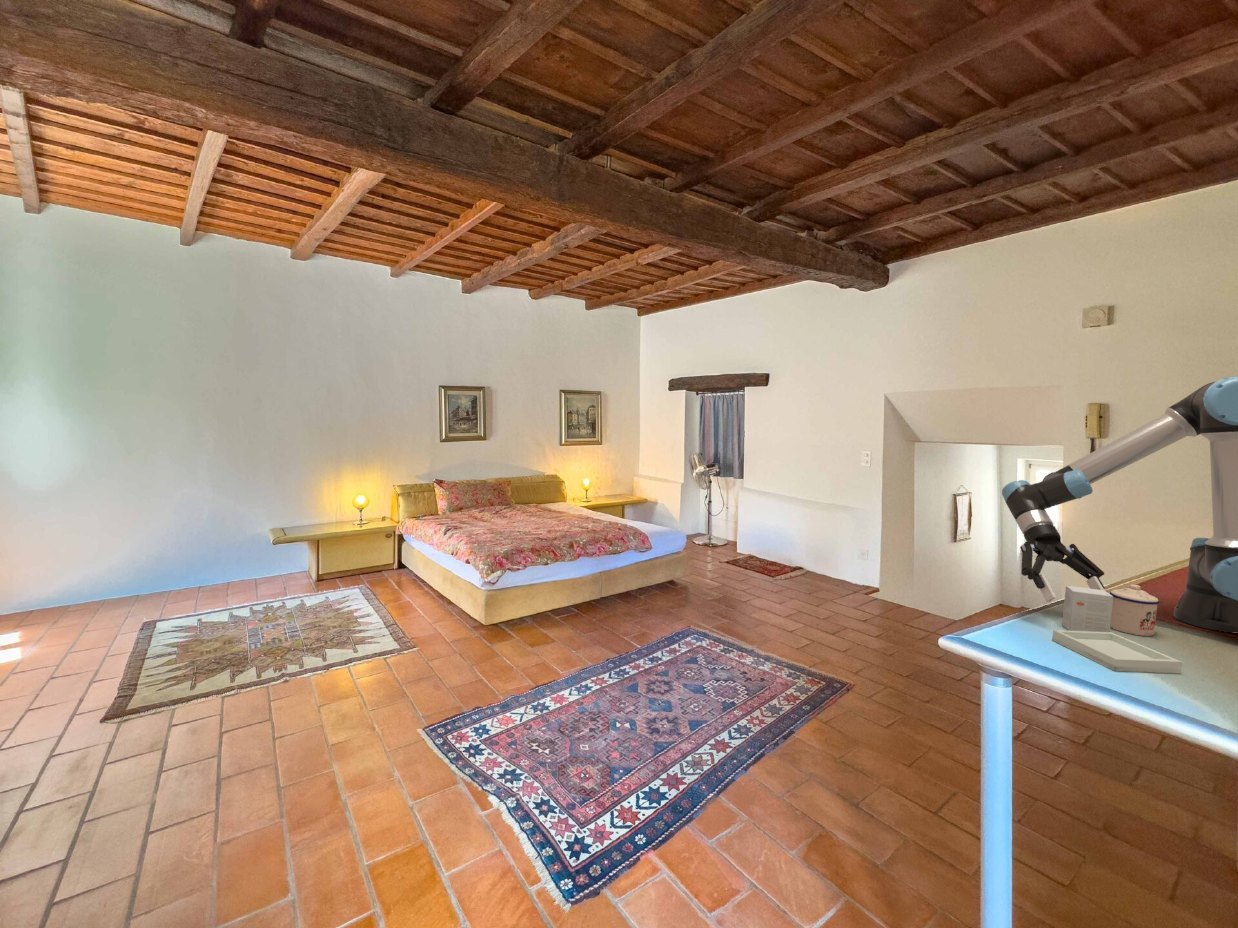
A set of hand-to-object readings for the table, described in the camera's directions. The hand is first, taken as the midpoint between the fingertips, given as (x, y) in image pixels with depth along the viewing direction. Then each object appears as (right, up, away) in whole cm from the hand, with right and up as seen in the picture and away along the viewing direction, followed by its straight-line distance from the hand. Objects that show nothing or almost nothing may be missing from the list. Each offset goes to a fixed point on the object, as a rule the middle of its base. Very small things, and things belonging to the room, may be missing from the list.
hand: (1078, 600), depth 137 cm
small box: (+1, -7, -1) cm, 8 cm away
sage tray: (-6, -8, -16) cm, 19 cm away
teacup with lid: (+15, -8, +2) cm, 18 cm away
